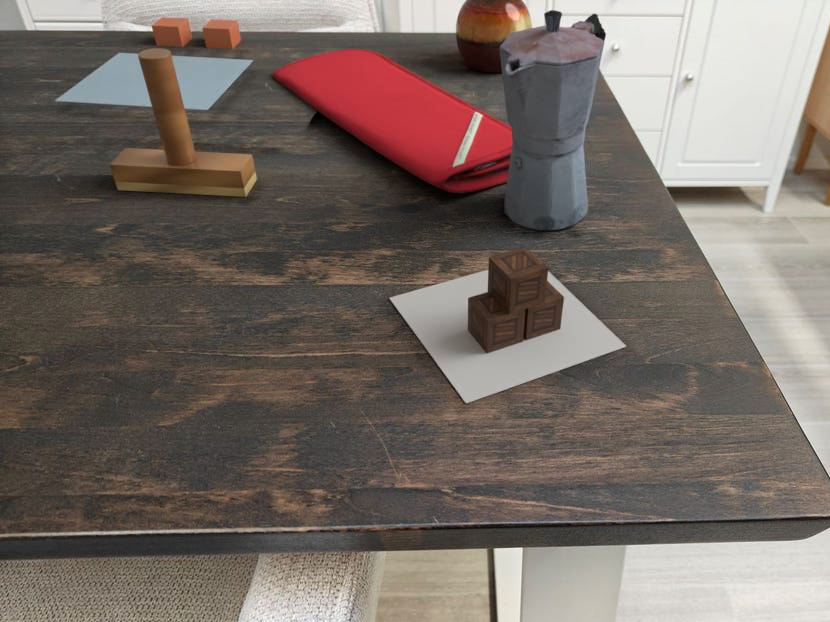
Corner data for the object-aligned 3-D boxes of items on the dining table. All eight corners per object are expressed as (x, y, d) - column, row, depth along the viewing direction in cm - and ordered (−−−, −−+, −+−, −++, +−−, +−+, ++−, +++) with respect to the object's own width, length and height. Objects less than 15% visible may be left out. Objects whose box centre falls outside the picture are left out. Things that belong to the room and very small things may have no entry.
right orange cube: (208, 55, 111) (202, 27, 108) (217, 46, 114) (211, 19, 111) (234, 56, 111) (229, 28, 108) (242, 47, 114) (237, 20, 111)
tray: (57, 109, 95) (53, 100, 94) (121, 60, 109) (119, 52, 108) (209, 119, 94) (207, 109, 93) (255, 68, 108) (253, 59, 107)
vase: (519, 81, 106) (526, -39, 96) (445, 72, 108) (444, -47, 98) (537, 56, 114) (545, -58, 104) (468, 47, 116) (469, -64, 106)
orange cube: (158, 53, 111) (151, 25, 109) (168, 44, 114) (162, 17, 112) (184, 54, 111) (178, 26, 108) (194, 45, 114) (188, 18, 112)
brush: (117, 190, 80) (73, 57, 71) (133, 173, 83) (92, 43, 74) (246, 197, 79) (218, 63, 70) (257, 179, 82) (232, 49, 73)
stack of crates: (533, 257, 72) (538, 192, 67) (626, 346, 62) (640, 278, 57) (389, 298, 66) (384, 231, 62) (466, 403, 56) (467, 333, 52)
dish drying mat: (371, 63, 110) (369, 37, 108) (552, 169, 85) (554, 138, 83) (272, 85, 103) (268, 57, 100) (438, 208, 78) (437, 176, 76)
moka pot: (466, 224, 76) (467, 17, 63) (544, 168, 86) (559, -21, 72) (546, 254, 72) (566, 40, 59) (618, 192, 82) (649, -3, 68)
